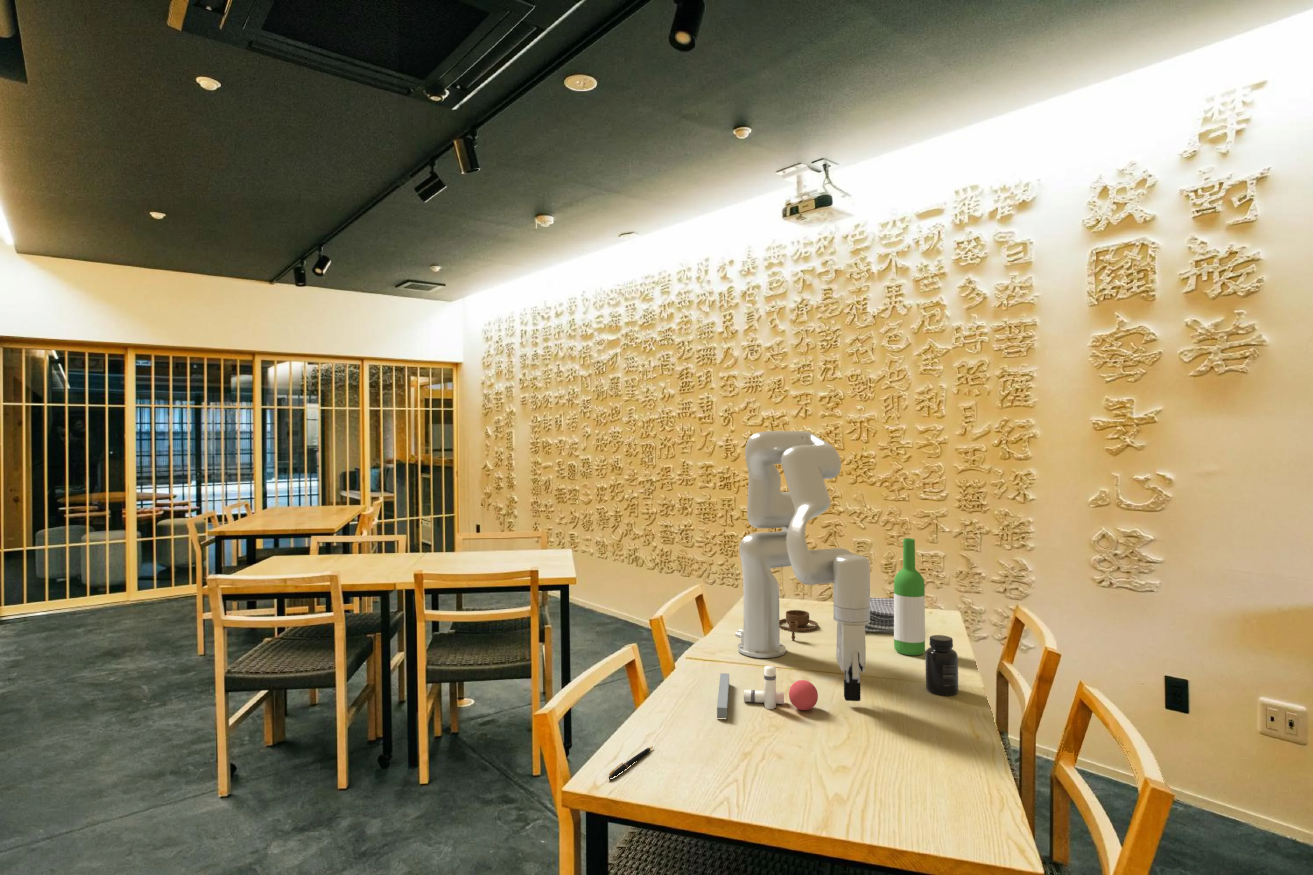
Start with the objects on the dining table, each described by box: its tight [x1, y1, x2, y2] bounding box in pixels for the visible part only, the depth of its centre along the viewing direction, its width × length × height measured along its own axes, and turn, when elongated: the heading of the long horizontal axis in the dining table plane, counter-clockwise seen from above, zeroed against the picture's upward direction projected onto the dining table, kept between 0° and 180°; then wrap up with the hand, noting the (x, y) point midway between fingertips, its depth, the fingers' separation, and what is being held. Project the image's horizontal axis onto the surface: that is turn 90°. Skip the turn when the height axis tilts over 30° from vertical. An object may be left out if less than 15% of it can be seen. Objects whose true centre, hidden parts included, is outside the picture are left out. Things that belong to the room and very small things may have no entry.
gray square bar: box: [716, 672, 730, 719], centre depth 149 cm, size 20×2×2 cm, turn 173°
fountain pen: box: [608, 745, 654, 779], centre depth 121 cm, size 14×1×2 cm, turn 148°
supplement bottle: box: [924, 634, 959, 697], centre depth 154 cm, size 7×7×12 cm
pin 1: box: [743, 689, 785, 705], centre depth 148 cm, size 2×2×8 cm
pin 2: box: [763, 665, 777, 710], centre depth 146 cm, size 2×2×8 cm
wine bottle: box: [893, 537, 926, 656], centre depth 182 cm, size 8×8×30 cm
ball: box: [788, 679, 819, 711], centre depth 145 cm, size 6×6×6 cm
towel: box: [865, 597, 894, 634], centre depth 206 cm, size 15×18×8 cm
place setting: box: [779, 609, 819, 642], centre depth 203 cm, size 18×20×6 cm
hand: (852, 699), depth 146 cm, fingers closed
